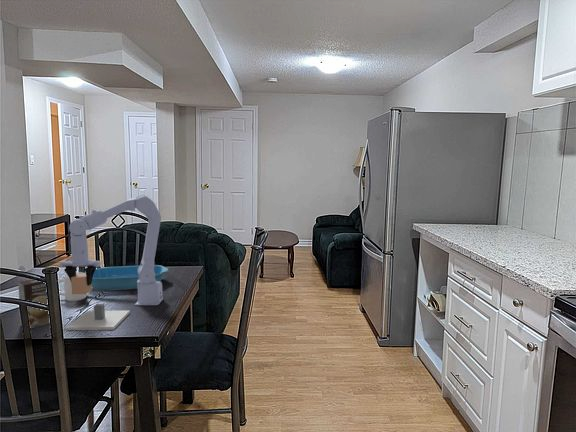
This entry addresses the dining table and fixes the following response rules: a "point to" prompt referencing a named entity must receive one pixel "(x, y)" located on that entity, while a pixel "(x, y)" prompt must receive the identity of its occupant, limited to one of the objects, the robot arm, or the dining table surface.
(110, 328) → the white board
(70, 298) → the mug
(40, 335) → the dining table surface
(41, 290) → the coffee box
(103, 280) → the casserole dish
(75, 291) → the tan rectangular block
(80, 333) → the dining table surface
